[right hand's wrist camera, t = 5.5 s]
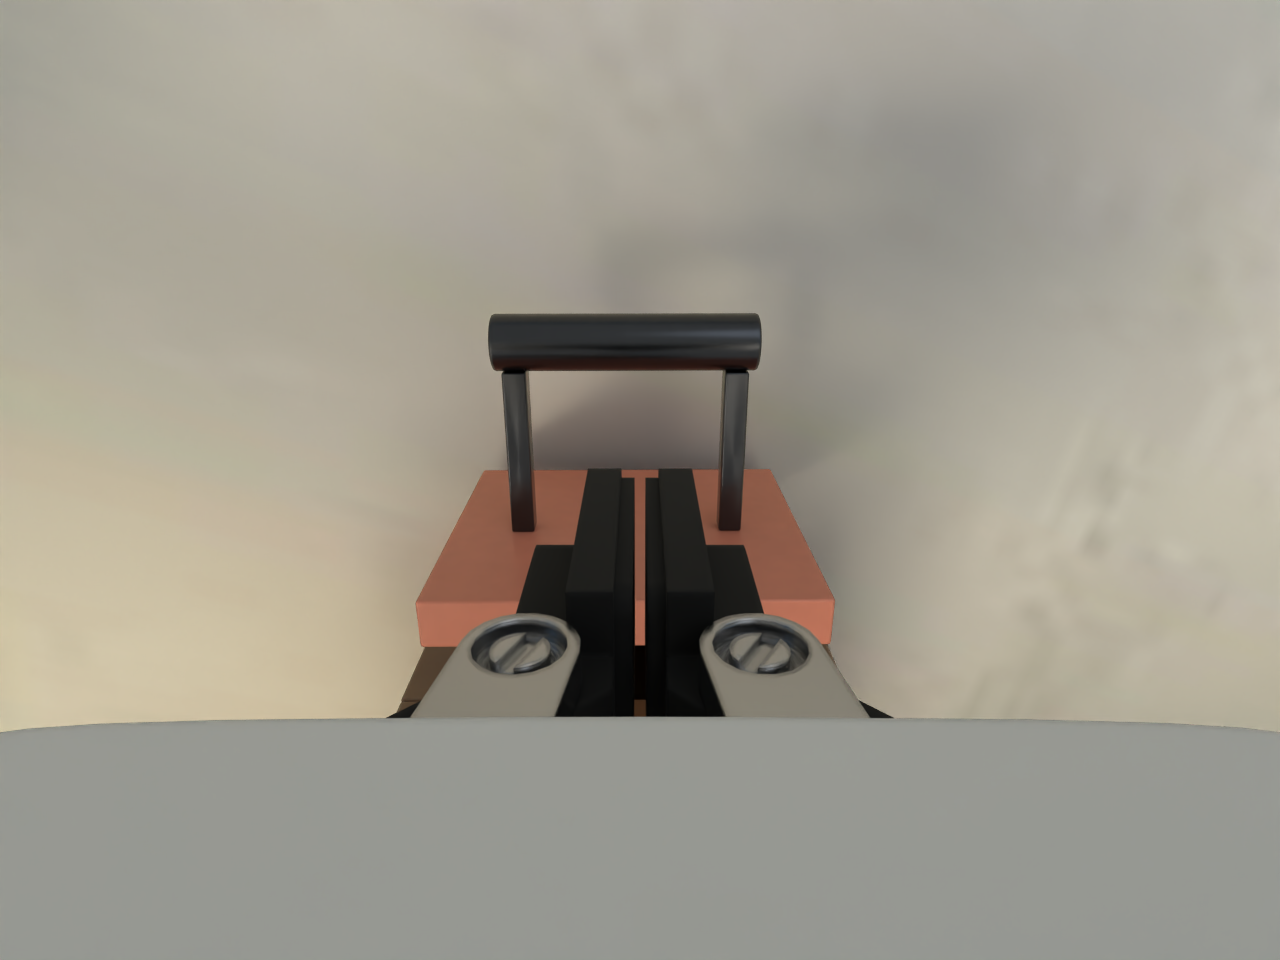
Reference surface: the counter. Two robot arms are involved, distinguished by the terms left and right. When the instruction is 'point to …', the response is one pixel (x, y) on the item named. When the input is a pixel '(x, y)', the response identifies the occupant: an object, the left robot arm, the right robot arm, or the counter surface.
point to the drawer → (551, 499)
